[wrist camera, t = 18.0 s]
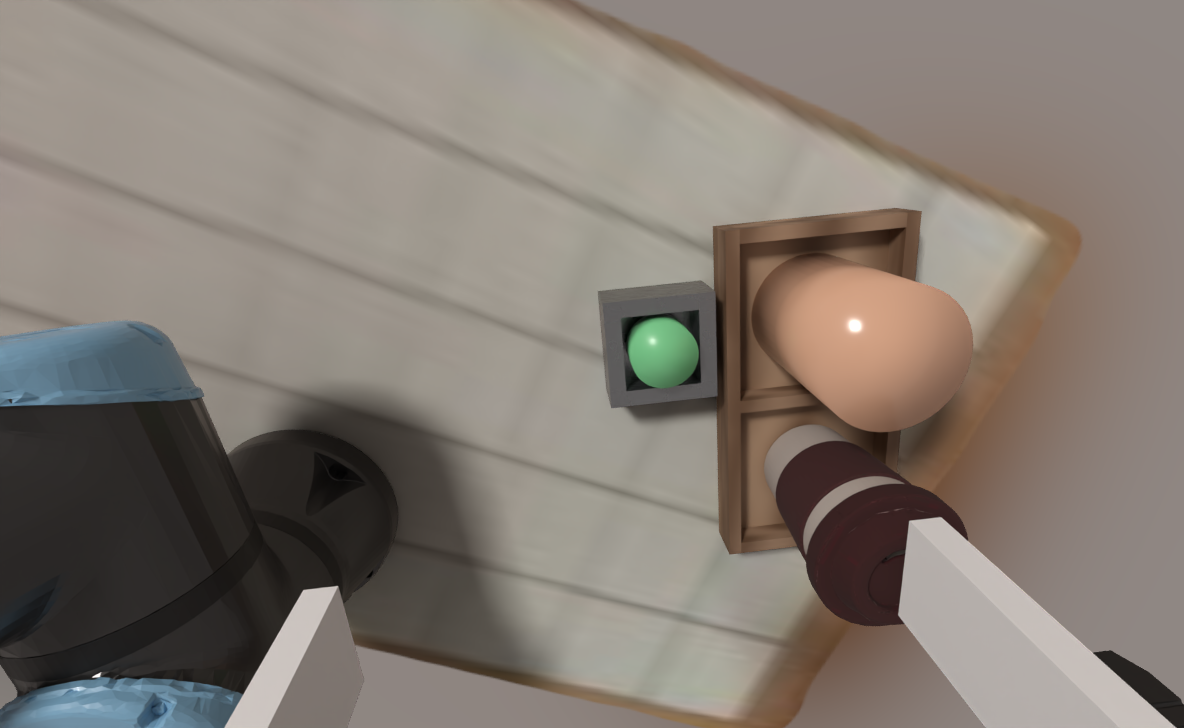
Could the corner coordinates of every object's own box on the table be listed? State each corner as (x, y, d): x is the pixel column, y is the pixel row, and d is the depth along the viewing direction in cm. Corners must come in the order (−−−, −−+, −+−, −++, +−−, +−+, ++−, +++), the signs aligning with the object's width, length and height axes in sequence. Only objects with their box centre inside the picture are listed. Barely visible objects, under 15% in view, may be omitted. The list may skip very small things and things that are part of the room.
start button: (628, 377, 44) (633, 391, 42) (623, 316, 43) (628, 327, 40) (690, 370, 45) (699, 384, 42) (688, 309, 43) (697, 320, 40)
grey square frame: (606, 388, 47) (611, 408, 43) (597, 291, 44) (602, 303, 40) (703, 377, 47) (717, 396, 43) (701, 280, 45) (715, 291, 41)
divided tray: (719, 531, 52) (729, 554, 49) (713, 226, 43) (725, 231, 40) (871, 513, 53) (890, 534, 50) (895, 208, 44) (921, 211, 41)
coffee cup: (842, 516, 51) (954, 651, 37) (734, 506, 50) (807, 641, 36) (876, 414, 48) (1013, 518, 34) (762, 400, 47) (854, 502, 33)
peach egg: (751, 372, 46) (817, 440, 35) (751, 259, 43) (823, 292, 32) (861, 360, 46) (963, 423, 35) (869, 246, 43) (982, 275, 32)
